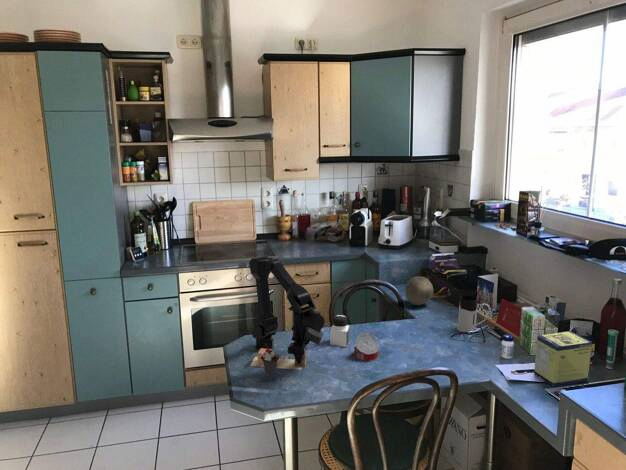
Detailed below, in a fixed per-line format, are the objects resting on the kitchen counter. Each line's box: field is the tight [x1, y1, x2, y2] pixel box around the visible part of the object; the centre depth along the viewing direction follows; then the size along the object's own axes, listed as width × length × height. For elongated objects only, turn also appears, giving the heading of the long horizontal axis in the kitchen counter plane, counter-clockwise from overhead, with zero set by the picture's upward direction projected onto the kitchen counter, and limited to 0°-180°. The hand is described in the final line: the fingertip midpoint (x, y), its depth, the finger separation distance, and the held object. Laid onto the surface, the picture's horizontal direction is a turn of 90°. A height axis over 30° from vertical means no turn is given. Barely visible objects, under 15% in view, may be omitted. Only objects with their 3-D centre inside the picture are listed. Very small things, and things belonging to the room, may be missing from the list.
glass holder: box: [456, 294, 491, 333], centre depth 232 cm, size 9×14×15 cm, turn 54°
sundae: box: [261, 344, 280, 382], centre depth 184 cm, size 7×7×15 cm
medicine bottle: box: [329, 314, 350, 348], centre depth 219 cm, size 7×7×12 cm
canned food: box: [353, 331, 380, 362], centre depth 208 cm, size 11×10×10 cm
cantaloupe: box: [404, 276, 434, 306], centre depth 265 cm, size 14×14×15 cm
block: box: [257, 348, 273, 365], centre depth 199 cm, size 4×4×4 cm
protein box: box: [533, 331, 593, 387], centre depth 188 cm, size 10×16×16 cm
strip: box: [249, 350, 307, 370], centre depth 199 cm, size 21×8×6 cm, turn 81°
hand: (300, 361), depth 197 cm, fingers closed on strip, 3 cm apart
